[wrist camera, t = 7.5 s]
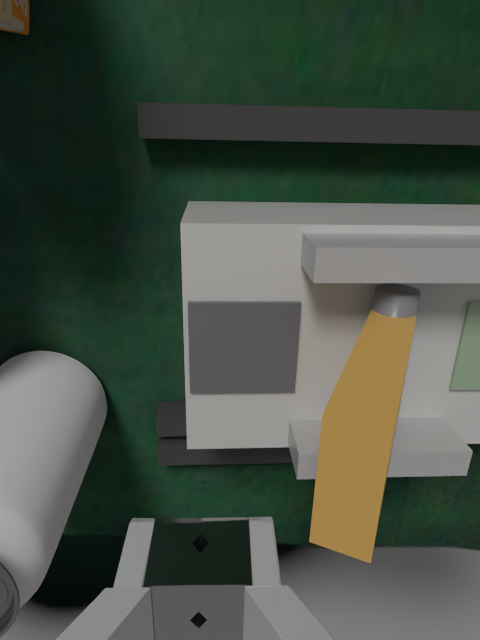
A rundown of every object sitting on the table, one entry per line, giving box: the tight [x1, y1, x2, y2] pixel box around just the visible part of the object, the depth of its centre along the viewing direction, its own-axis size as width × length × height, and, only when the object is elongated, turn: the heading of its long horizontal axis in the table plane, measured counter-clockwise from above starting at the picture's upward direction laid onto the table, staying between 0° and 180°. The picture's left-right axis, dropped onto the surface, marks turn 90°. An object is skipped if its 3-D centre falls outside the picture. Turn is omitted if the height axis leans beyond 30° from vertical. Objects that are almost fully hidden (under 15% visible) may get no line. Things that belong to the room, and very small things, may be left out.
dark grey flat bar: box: [155, 401, 293, 466], centre depth 27 cm, size 16×3×1 cm, turn 89°
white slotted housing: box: [180, 201, 480, 479], centre depth 20 cm, size 16×10×8 cm, turn 89°
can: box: [0, 351, 107, 637], centre depth 20 cm, size 6×6×12 cm
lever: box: [309, 283, 420, 563], centre depth 15 cm, size 2×6×9 cm, turn 178°
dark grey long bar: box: [137, 102, 480, 145], centre depth 20 cm, size 16×1×1 cm, turn 89°
